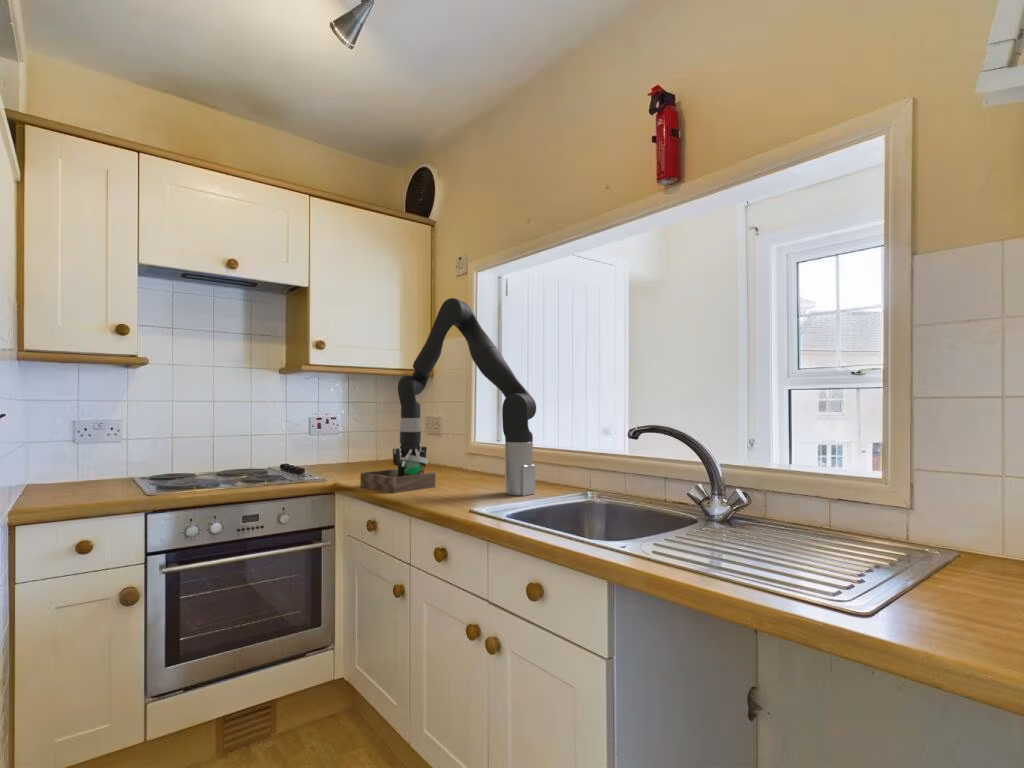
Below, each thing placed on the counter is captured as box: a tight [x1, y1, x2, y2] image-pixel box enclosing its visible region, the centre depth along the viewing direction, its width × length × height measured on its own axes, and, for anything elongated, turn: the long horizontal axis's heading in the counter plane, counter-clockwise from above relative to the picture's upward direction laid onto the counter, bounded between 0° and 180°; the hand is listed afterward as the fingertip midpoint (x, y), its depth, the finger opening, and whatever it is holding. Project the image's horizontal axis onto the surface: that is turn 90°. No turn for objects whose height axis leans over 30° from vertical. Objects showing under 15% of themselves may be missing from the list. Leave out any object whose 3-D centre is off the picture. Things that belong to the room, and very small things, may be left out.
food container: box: [397, 455, 429, 477], centre depth 196 cm, size 12×6×10 cm, turn 67°
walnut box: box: [359, 468, 436, 494], centre depth 193 cm, size 19×18×5 cm
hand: (409, 476), depth 197 cm, fingers closed on food container, 6 cm apart
